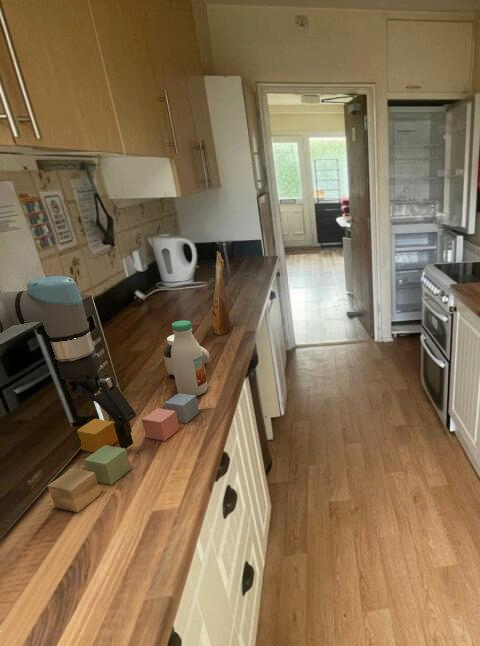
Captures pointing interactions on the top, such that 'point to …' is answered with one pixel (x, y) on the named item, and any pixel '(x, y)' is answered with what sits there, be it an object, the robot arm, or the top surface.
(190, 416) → the blue-grey block
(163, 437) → the dusty pink block
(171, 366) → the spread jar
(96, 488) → the birch block
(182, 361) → the milk bottle
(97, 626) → the top surface
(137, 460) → the top surface
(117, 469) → the sage block
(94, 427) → the ochre block
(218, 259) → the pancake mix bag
